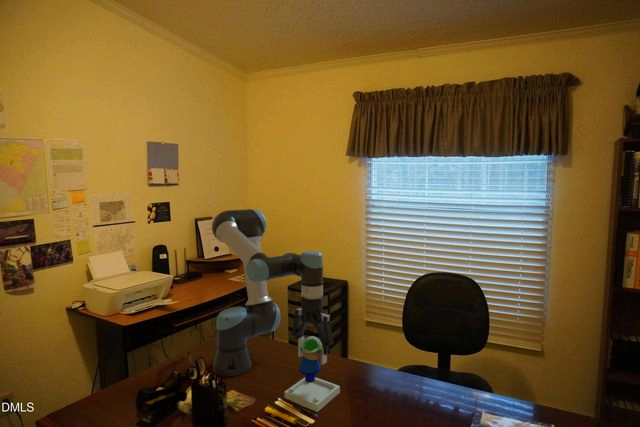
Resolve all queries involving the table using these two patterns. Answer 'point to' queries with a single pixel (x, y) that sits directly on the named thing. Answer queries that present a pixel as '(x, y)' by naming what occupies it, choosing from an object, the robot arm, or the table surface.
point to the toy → (310, 358)
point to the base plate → (312, 393)
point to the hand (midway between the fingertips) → (312, 359)
